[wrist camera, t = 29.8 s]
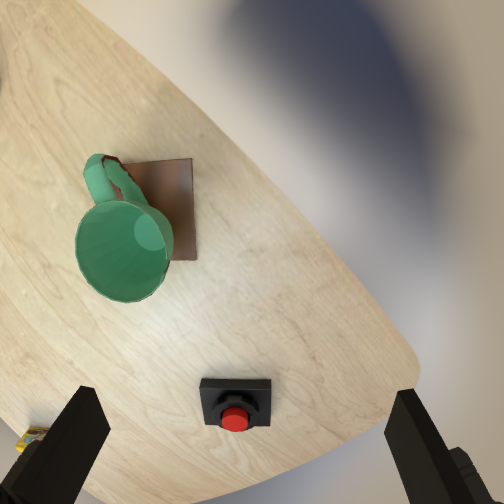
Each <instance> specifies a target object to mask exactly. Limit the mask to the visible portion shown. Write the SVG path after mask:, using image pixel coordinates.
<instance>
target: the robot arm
mask: <svg viewBox="0 0 504 504" xmlns="http://www.w3.org/2000/svg"><path fill="white" fill-rule="evenodd" d="M110 430H111V428H110V426H109V424H108V421H107V419H106V417H105V414H104V412H103V409H102V407H101V404H100V402H99V399H98V397H97V394H96V391H95V389H94V388H91V387H86V386H80V387H79V389H78V390H77V391H76V393H75V394H74V395H73V397H72V398H71V399H70V401H69V402H68V404H67V405H66V406H65V408H64V409H63V411H62V412H61V413H60V415H59V416H58V418H57V419H56V420H55V422H54V423H53V425H52V426H51V428H50V429H49V430H48V432H47V433H46V435H45V436H44V438H43V439H42V441H40V440H37V439H35V440H33V441H32V442H31V443H29V444H28V445H27V446H26V447H25V449H24V450H23V452H22V455H20V456H19V458H18V459H17V461H16V462H15V463H14V465H13V466H12V468H11V469H10V471H9V472H8V474H7V475H6V477H5V478H4V480H3V481H2V483H1V484H0V504H74V502H75V500H76V498H77V496H78V494H79V492H80V490H81V488H82V486H83V484H84V482H85V480H86V478H87V475H88V473H89V471H90V469H91V467H92V465H93V463H94V461H95V459H96V457H97V455H98V453H99V451H100V449H101V447H102V446H103V444H104V442H105V440H106V438H107V436H108V434H109V432H110ZM384 435H385V437H386V440H387V442H388V445H389V447H390V450H391V453H392V455H393V458H394V461H395V463H396V466H397V468H398V471H399V474H400V477H401V479H402V482H403V485H404V488H405V491H406V494H407V496H408V499H409V502H410V504H504V503H501V502H495V501H494V500H493V499H492V497H491V496H490V494H489V492H488V490H487V489H486V486H485V484H484V483H483V481H482V479H481V477H480V475H479V473H477V470H476V468H475V466H474V465H473V463H472V461H471V459H470V457H469V456H468V454H467V453H466V452H464V451H463V450H462V449H461V448H459V447H456V448H453V449H451V450H448V449H447V447H446V445H445V443H444V441H443V439H442V437H441V436H440V434H439V432H438V430H437V428H436V427H435V425H434V423H433V421H432V420H431V418H430V416H429V414H428V413H427V411H426V409H425V407H424V406H423V404H422V402H421V401H420V399H419V397H418V395H417V394H416V392H415V390H414V389H413V388H412V389H407V390H401V391H398V392H397V395H396V399H395V402H394V405H393V408H392V411H391V414H390V417H389V420H388V423H387V426H386V428H385V431H384Z"/></svg>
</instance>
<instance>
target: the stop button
mask: <svg viewBox="0 0 504 504" xmlns="http://www.w3.org/2000/svg"><path fill="white" fill-rule="evenodd" d="M222 426H223V427H224V428H225V429H227V430H229V431H232V432H239V431H243V430H245V429H246V428H247V426H248V413H247V412H246V411H245V410H244V409H242V408H238V407H231V408H228V409H226V410H225V411H224V412H223V416H222Z"/></svg>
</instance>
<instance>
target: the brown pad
mask: <svg viewBox="0 0 504 504" xmlns="http://www.w3.org/2000/svg"><path fill="white" fill-rule="evenodd" d="M123 165H124V167H125V168H126V169H127V170H128V172H129V173H130V174H131V175H132V176H133V178H134V179H135V180H136V182H137V184H138V186H139V188H140V189H141V191H142V193H143V195H144V197H145V198H146V200H147V202H148V204H149V206H151V207H153V208H155V209H157V210H159V211H160V212H161V213H162V214H163V215H164V216H165V217H166V218H167V219H168V221H169V223H170V225H171V227H172V232H173V238H174V241H173V252H172V256H171V260H197V252H196V236H195V218H194V196H193V168H192V158H190V159H175V160H163V161H151V162H141V163H132V164H123ZM108 179H109V178H108ZM109 181H110V183H111V185H112V187H113V190H114V192H115V194H116V196H117V198H118V199H124V198H123V196H122V194H121V192H120V191H119V189H118V188H117V187H116V186H115V184H114V183H113V182H112V181H111V180H110V179H109ZM124 200H125V199H124Z"/></svg>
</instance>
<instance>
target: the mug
mask: <svg viewBox="0 0 504 504" xmlns="http://www.w3.org/2000/svg"><path fill="white" fill-rule="evenodd" d="M83 175H84V178H85V181H86V184H87V187H88V189H89V191H90V193H91V196H92V198H93V200H94V202H95V204H96V206H94V207H93V208H92V209H90V210H89V211H88V212H87V213H86V214H85V216H84V217H83V219H82V220H81V222H80V223H79V226H78V230H77V233H76V237H75V255H76V258H77V262H78V265H79V268H80V270H81V272H82V274H83V276H84V277H85V279H86V281H87V282H88V283H89V284H90V285H91V286H92V287H93V288H94V289H95V290H96V291H97V292H98V293H99V294H101V295H103V296H105V297H106V298H108V299H110V300H113V301H117V302H122V303H131V302H138V301H141V300H143V299H145V298H147V297H148V296H150V295H152V294H153V293H154V291H155V290H156V289H157V288H158V287H159V286H160V285H161V283H162V282H163V281H164V278H165V275H166V273H167V270H168V267H169V263H170V260H171V256H172V252H173V241H174V238H173V232H172V227H171V225H170V223H169V221H168V219H167V218H166V217H165V216H164V215H163V214H162V213H161V212H160V211H159V210H157V209H155V208H153V207H151V206H149V204H148V202H147V200H146V198H145V197H144V195H143V193H142V191H141V189H140V188H139V186H138V184H137V182H136V180H135V179H134V178H133V176H132V175H131V174H130V173H129V172H128V170H127V169H126V168H125V167H124V165H123V164H122V163H121V162H120V161H119V159H118V158H117V157H113V156H109V155H104V154H94V155H92V156H91V157H90V158H89V159H88V160H87V163H86V166H85V169H84V171H83ZM108 178H109V179H110V180H111V181H112V182H113V183H114V184H115V186H116V187H117V188H118V189H119V191H120V192H121V194H122V196H123V198H124V199H125V200H124V199H118V198H117V196H116V194H115V192H114V190H113V187H112V185H111V183H110V181H109V179H108Z"/></svg>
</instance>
